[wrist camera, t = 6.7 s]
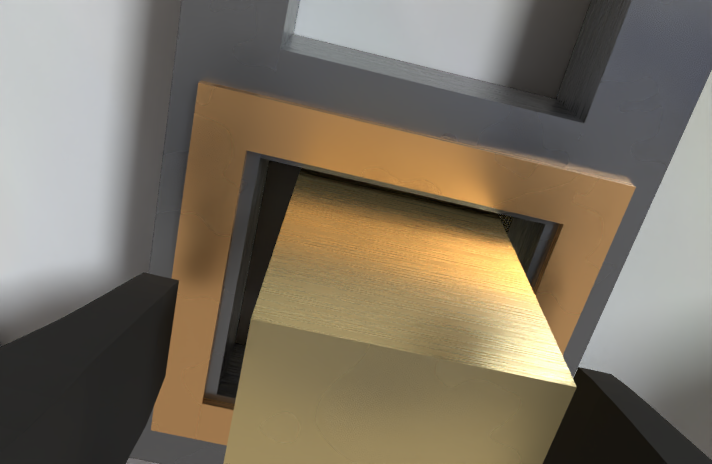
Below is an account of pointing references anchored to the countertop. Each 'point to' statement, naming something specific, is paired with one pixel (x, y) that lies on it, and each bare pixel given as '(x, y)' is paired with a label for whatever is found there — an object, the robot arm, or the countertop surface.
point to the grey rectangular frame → (404, 168)
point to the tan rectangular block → (395, 338)
